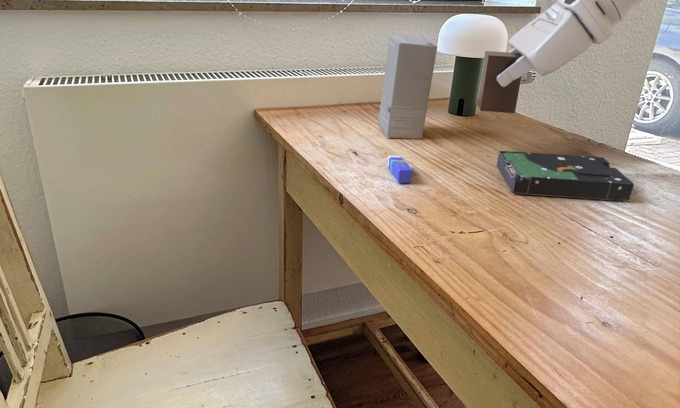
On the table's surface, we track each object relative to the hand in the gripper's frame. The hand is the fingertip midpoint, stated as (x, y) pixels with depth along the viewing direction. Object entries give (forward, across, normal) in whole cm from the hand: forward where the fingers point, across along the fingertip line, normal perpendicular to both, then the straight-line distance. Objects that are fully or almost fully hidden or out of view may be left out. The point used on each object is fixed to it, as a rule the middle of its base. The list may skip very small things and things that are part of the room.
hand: (496, 78), depth 76 cm
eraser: (+17, +14, -1) cm, 22 cm away
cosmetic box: (+18, -7, -1) cm, 19 cm away
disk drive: (+2, +11, +14) cm, 19 cm away
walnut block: (+3, 0, +4) cm, 4 cm away
